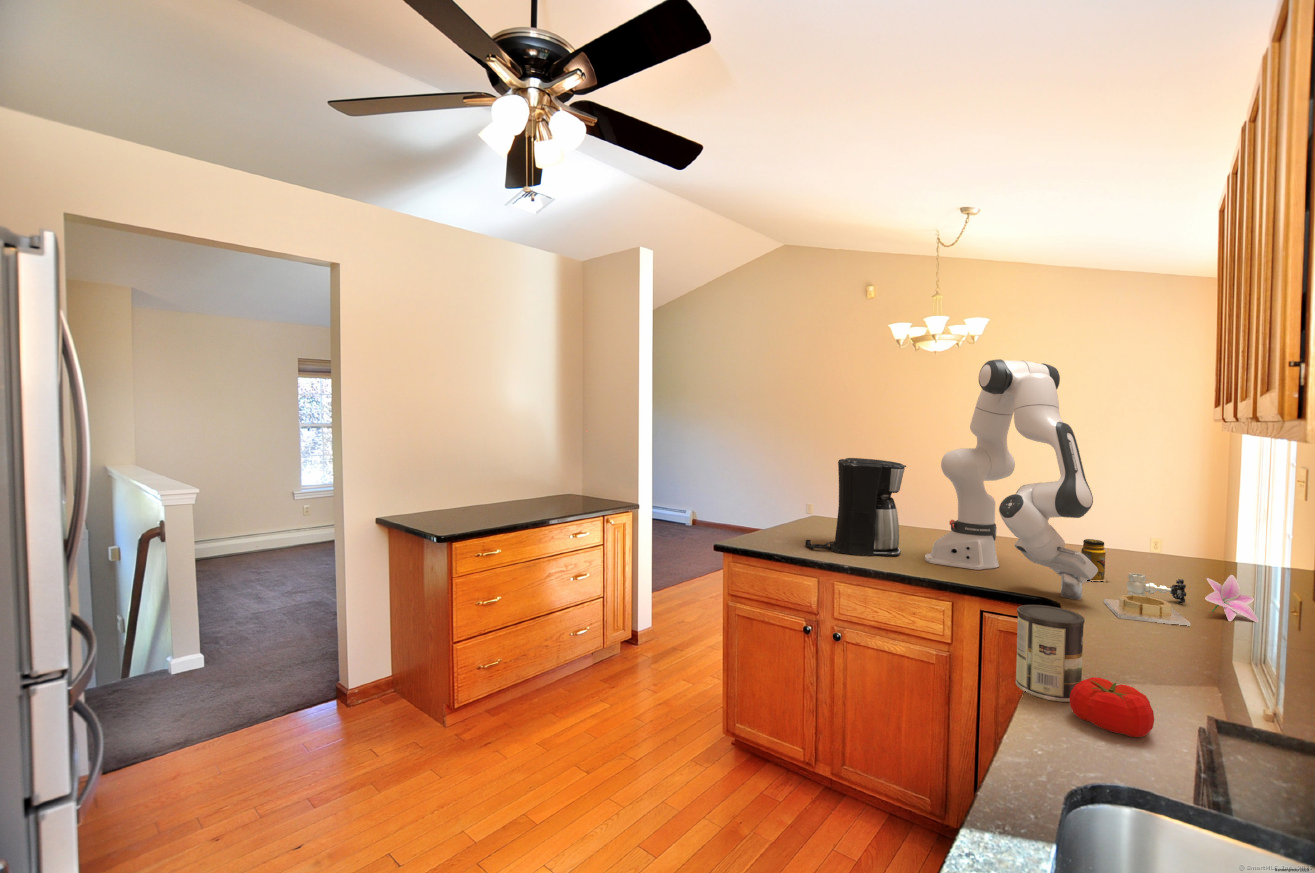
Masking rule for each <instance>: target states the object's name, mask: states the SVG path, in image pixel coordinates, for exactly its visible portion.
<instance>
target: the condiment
mask: <svg viewBox="0 0 1315 873" xmlns="http://www.w3.org/2000/svg"><path fill="white" fill-rule="evenodd" d="M1082 542H1083V545H1082V548H1081V552H1080V553H1082V554H1083V555H1085V556H1086V557H1087V558H1088V559H1089V560H1090V561H1091V562H1092V563H1093V564H1094V565H1095V566H1096V567H1097V568H1098V572H1097V573H1096V575H1095V576H1094V577H1093V578H1092V579H1091V580H1104V579H1105V572H1106V570H1105V569H1106V555H1107V554H1106V553H1107V552H1106V550H1105V542H1104V541H1103V540H1099V539H1094V538H1093V539H1092V538H1085V539H1084V540H1082Z"/></svg>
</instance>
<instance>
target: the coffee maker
mask: <svg viewBox="0 0 1315 873" xmlns="http://www.w3.org/2000/svg"><path fill="white" fill-rule="evenodd" d="M837 466H838V510H837V519H836V528H835V536H834V537H835V538H834V541H829V542H826V543H824V544H820V543H812V542H811V541H812V540H811V539H806V540H805V544H804V546H805V547H808V548H811V549H824V550H831V551H832V552H834V553H839V554H845V555H846V554H847V555H851V556H852V555H853V556H864V557H867V556H868V557H872V556H873V557H874V556H875V557H876V556H878V557H880V556H881V557H897V556H899V555H900V554H901V552H902V550H901V548H899V546H900V526H899V525H900V524H899V516H898V508H897V506H896V503H895V499H894V498H893V497H892V495H893V494H898V493H899V492H900V490H901V486H902V482H903V477H904V472H905V468H907V465H904V464H903V463H900V462H897V461H896V462H895V461H890V460H883V459H872V458H862V457H846V458H841V459H838V462H837Z"/></svg>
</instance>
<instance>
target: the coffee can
mask: <svg viewBox="0 0 1315 873" xmlns="http://www.w3.org/2000/svg"><path fill="white" fill-rule="evenodd" d="M1016 613H1017V630H1016V631H1017V633H1016V634H1017V636H1016V671H1015V672H1016V673H1015V684H1016V686H1017V687H1018V689H1020V690H1021V691H1023V692H1025V691H1026V692H1025V693H1026V694H1029V695H1031V696H1033V697H1036V698H1039V699H1043V700H1047V701H1051V702H1052V701H1053V702H1061V703H1070V700H1069V698H1070V694H1071V691H1072V689H1073V688H1074V686H1075V685H1076V684H1078V683H1080V682H1081V681H1083V678H1082V676H1083V649H1084V648H1083V647H1084V646H1083V645H1084V644H1083V643H1084V624H1085V620H1086V619H1085V617H1084V616H1083V615H1081V614H1079V613H1077V612H1075V611H1073V610H1070V609H1065V608H1061V607H1057V606H1051V605H1043V604H1024V605H1019V606H1018V607H1017V608H1016Z"/></svg>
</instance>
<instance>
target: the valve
mask: <svg viewBox="0 0 1315 873" xmlns="http://www.w3.org/2000/svg"><path fill="white" fill-rule="evenodd" d="M1127 576H1128V579H1127V580H1128V581H1127V583H1126V588H1127V595H1128V594H1129V595H1140V596H1146V593H1148V594H1152V595H1154V594H1155V593H1157V592H1158V593H1160V594H1161V593H1162V594H1166V593H1169V594H1170V595H1171V596H1172V598H1174V600H1177V602H1178V603H1177V604H1180V603H1182V604H1181V605H1183V604H1185V603H1186V599H1185V598H1186V597H1187V592H1186V590H1185V589H1186V588H1187V587H1186V586H1187V585H1186V584H1185V580H1184V579H1181V578H1178V580H1176V581H1175V584H1173V585H1171V586H1170V587H1169V588H1168V587H1167V586H1165V585H1159V586H1157V585H1156V584H1155V583H1154V582H1150V581H1149V582H1147V583H1146V581H1147V578H1146V577H1147V576H1146V575H1144V574H1143V573H1137V572H1129V573H1128V575H1127Z"/></svg>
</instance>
